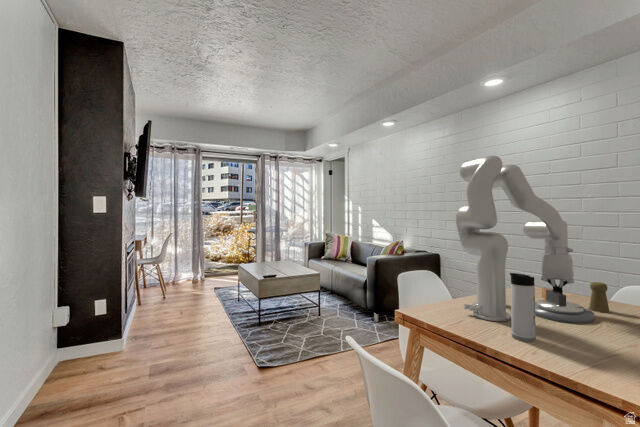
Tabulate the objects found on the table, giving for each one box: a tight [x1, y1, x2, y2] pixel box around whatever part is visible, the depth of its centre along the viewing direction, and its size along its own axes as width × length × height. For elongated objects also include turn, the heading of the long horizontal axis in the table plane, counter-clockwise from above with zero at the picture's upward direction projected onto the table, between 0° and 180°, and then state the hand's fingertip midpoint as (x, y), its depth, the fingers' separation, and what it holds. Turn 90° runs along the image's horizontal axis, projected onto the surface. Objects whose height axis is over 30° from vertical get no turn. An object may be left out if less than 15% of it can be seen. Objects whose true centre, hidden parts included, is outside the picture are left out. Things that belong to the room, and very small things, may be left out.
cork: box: [589, 281, 610, 314], centre depth 124 cm, size 6×6×11 cm
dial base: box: [535, 301, 596, 324], centre depth 119 cm, size 20×20×3 cm
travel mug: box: [509, 272, 537, 343], centre depth 97 cm, size 6×7×20 cm
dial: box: [536, 287, 585, 314], centre depth 120 cm, size 17×14×6 cm
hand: (557, 296), depth 126 cm, fingers closed
